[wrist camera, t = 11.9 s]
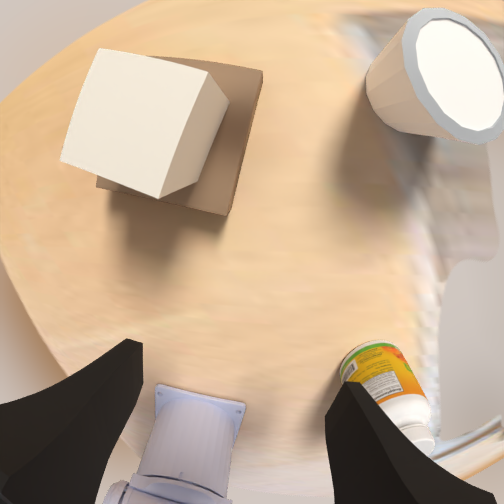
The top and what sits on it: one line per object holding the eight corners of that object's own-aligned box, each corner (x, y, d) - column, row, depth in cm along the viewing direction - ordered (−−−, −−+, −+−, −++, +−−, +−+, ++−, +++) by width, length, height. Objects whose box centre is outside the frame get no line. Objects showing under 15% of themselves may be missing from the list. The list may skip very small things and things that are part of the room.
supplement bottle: (404, 370, 22) (445, 455, 13) (348, 395, 23) (371, 487, 14) (393, 326, 20) (446, 418, 11) (330, 355, 21) (355, 459, 12)
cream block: (197, 181, 15) (158, 199, 9) (124, 154, 15) (59, 160, 9) (229, 102, 14) (208, 71, 8) (153, 79, 13) (98, 48, 8)
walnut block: (232, 206, 19) (226, 216, 16) (118, 181, 18) (96, 187, 15) (263, 83, 16) (262, 70, 13) (143, 67, 16) (124, 55, 13)
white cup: (368, 147, 16) (422, 148, 10) (344, 45, 14) (382, -3, 8) (453, 140, 16) (522, 144, 9) (432, 48, 14) (491, 19, 7)
